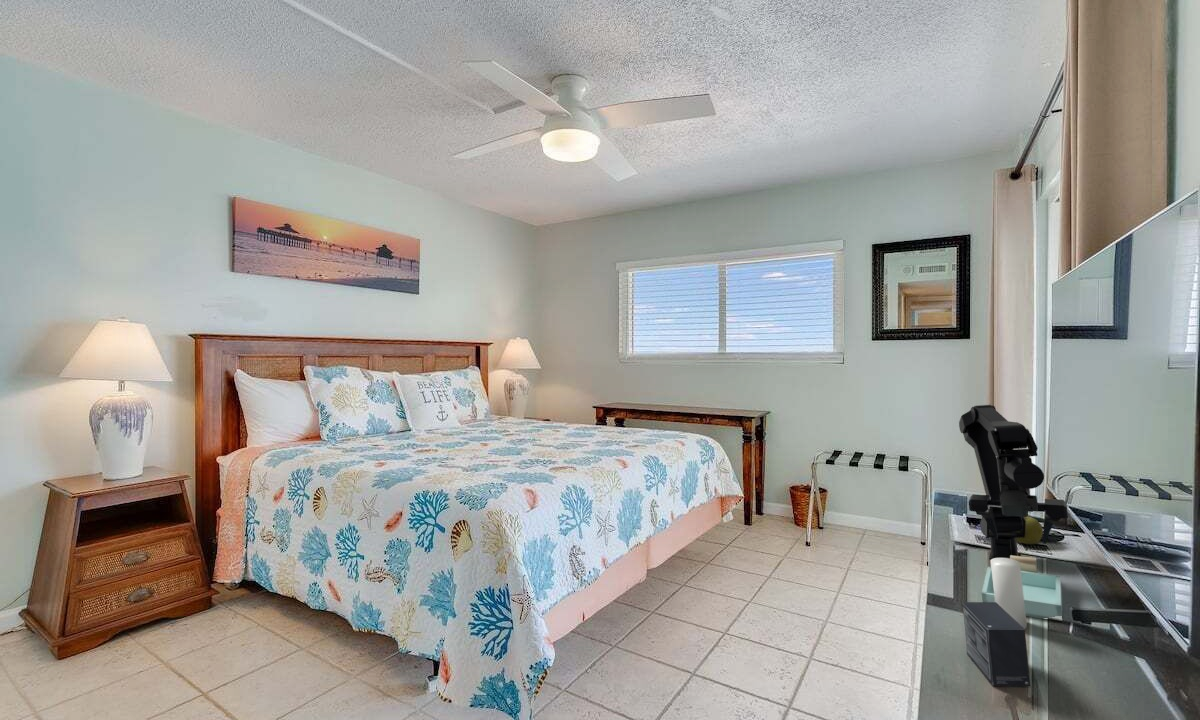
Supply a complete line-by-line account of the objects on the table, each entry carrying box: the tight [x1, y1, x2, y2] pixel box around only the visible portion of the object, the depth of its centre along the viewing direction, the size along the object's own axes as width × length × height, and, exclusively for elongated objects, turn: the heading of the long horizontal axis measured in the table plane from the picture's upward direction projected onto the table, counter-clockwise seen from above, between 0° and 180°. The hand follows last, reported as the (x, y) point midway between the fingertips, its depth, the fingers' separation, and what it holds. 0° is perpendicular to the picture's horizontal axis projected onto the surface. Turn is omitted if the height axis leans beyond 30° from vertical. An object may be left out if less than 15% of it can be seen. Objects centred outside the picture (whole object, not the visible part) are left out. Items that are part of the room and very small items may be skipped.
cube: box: [1010, 555, 1039, 573], centre depth 133 cm, size 5×5×5 cm
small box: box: [961, 601, 1031, 688], centre depth 102 cm, size 11×6×10 cm, turn 168°
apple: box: [1016, 515, 1044, 546], centre depth 153 cm, size 8×8×7 cm
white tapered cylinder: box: [990, 558, 1027, 630], centre depth 116 cm, size 5×5×13 cm
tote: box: [981, 566, 1063, 619], centre depth 124 cm, size 16×14×4 cm
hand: (1020, 540), depth 133 cm, fingers open, 9 cm apart
